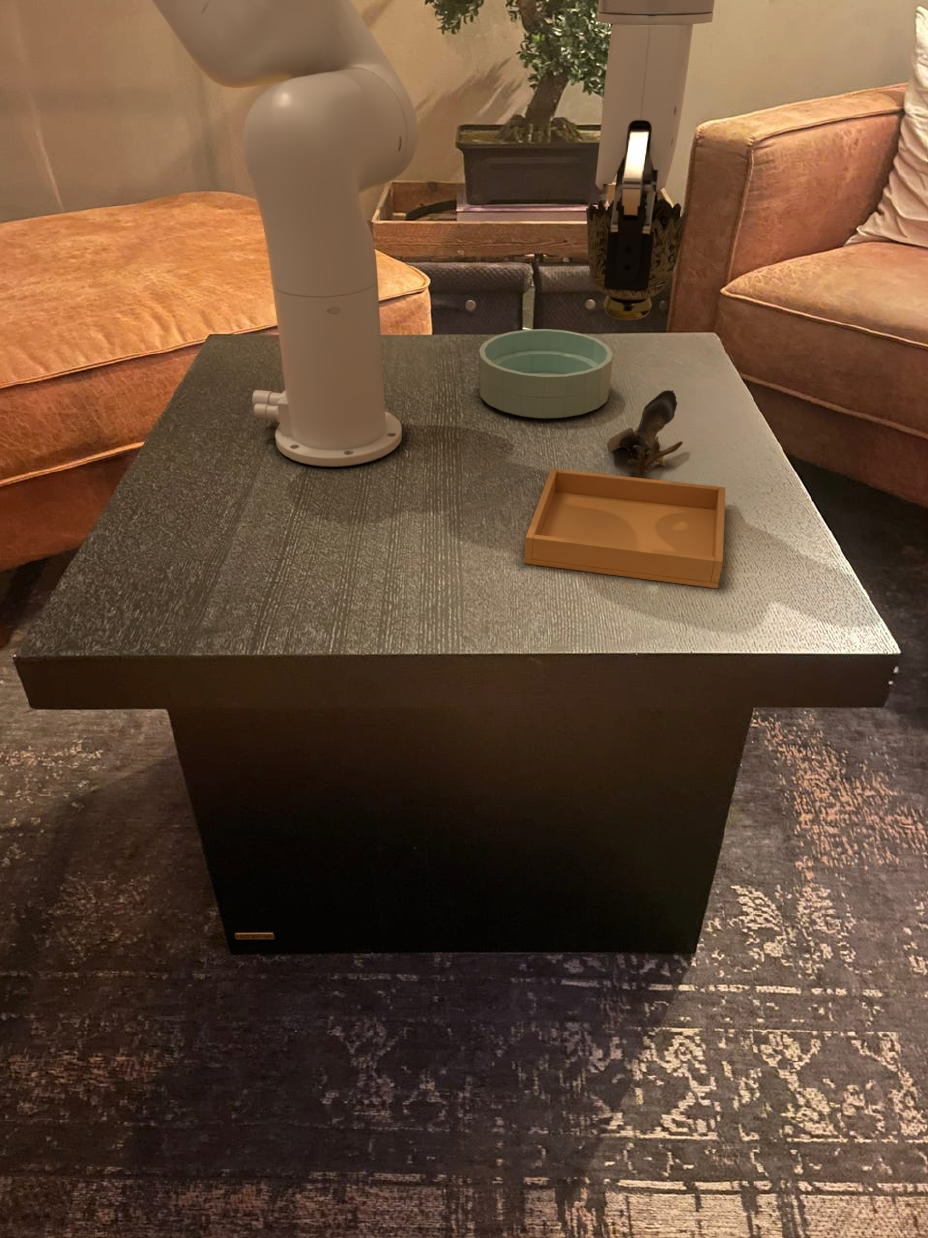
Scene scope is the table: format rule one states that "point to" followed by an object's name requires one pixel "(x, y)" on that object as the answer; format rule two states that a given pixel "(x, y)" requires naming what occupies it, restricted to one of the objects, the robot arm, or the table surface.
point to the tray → (629, 527)
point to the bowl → (545, 373)
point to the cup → (662, 261)
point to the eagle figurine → (648, 434)
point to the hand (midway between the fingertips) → (630, 271)
